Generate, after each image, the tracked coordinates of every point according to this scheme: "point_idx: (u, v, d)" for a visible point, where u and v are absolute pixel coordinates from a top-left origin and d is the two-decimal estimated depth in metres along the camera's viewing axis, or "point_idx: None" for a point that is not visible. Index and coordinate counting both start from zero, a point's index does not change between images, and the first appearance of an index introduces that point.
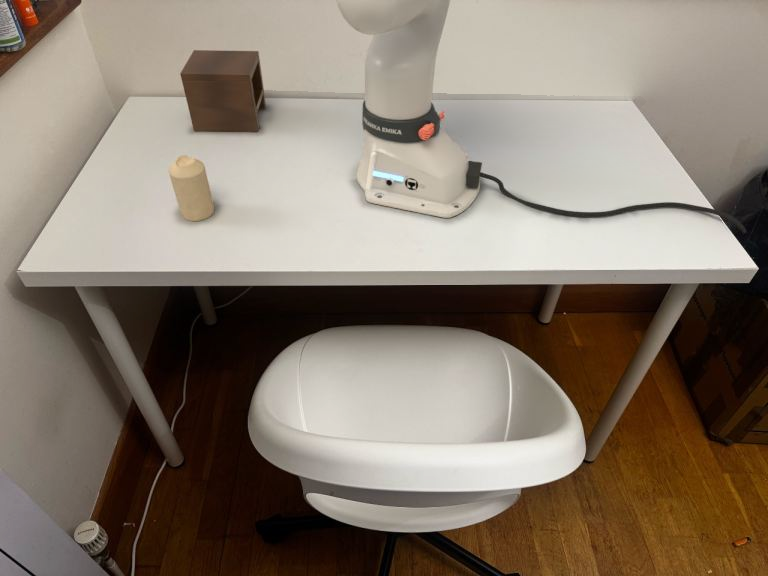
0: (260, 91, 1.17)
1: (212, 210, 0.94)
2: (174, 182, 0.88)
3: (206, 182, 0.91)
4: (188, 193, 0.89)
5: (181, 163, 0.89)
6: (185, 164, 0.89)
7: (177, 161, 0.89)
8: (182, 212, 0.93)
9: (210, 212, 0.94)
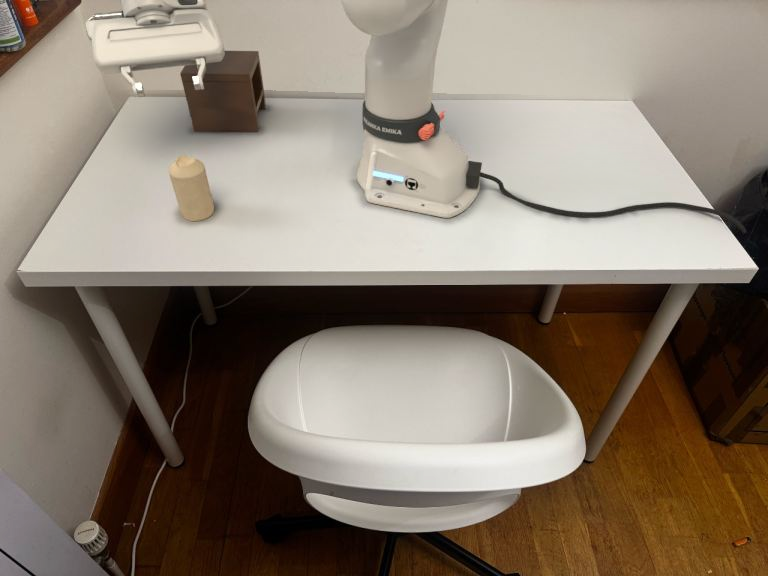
0: (260, 91, 1.17)
1: (212, 210, 0.94)
2: (174, 182, 0.88)
3: (206, 182, 0.91)
4: (188, 193, 0.89)
5: (181, 163, 0.89)
6: (185, 164, 0.89)
7: (177, 161, 0.89)
8: (182, 212, 0.93)
9: (210, 212, 0.94)
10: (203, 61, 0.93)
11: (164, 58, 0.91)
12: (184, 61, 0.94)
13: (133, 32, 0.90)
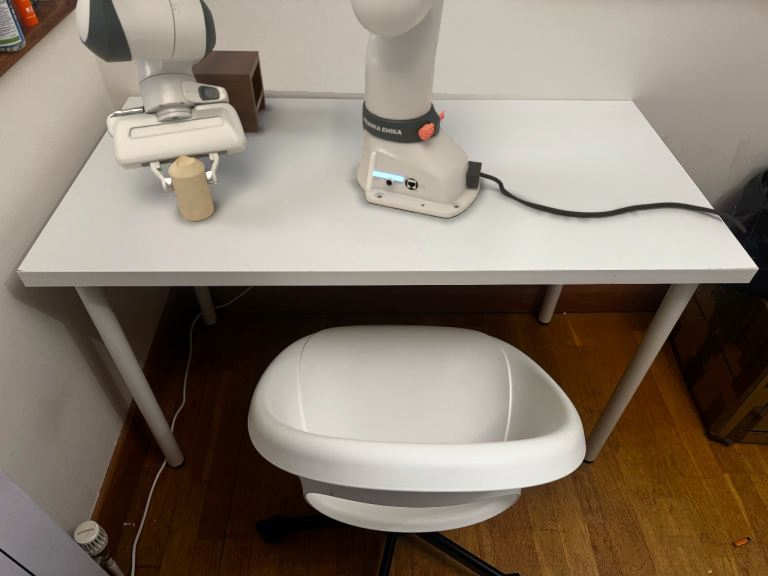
0: (260, 91, 1.17)
1: (212, 210, 0.94)
2: (174, 182, 0.88)
3: (206, 182, 0.91)
4: (188, 193, 0.89)
5: (181, 163, 0.89)
6: (185, 164, 0.89)
7: (177, 161, 0.89)
8: (182, 212, 0.93)
9: (210, 212, 0.94)
10: (216, 156, 0.91)
11: (186, 154, 0.89)
12: (205, 153, 0.93)
13: (154, 129, 0.88)
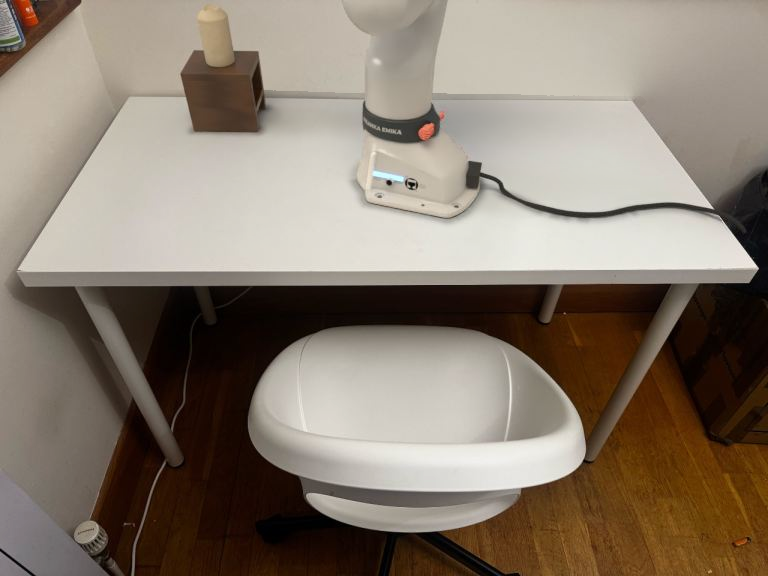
0: (260, 91, 1.17)
1: (233, 59, 1.09)
2: (202, 26, 1.03)
3: (228, 30, 1.05)
4: (214, 37, 1.04)
5: (208, 11, 1.04)
6: None
7: (204, 8, 1.03)
8: (207, 58, 1.07)
9: (231, 60, 1.08)
10: None
11: None
12: None
13: None
